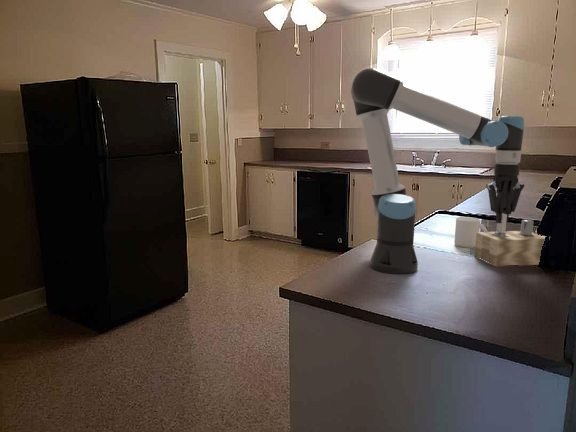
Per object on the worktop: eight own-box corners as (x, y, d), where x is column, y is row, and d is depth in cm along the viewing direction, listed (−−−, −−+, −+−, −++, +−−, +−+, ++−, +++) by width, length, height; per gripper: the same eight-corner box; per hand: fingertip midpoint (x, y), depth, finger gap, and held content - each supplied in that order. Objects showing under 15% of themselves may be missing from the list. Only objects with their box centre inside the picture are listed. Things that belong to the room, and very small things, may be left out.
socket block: (494, 266, 145) (497, 240, 143) (474, 256, 157) (476, 232, 155) (548, 264, 148) (551, 238, 146) (524, 254, 160) (527, 230, 158)
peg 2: (523, 247, 150) (526, 221, 149) (516, 244, 154) (519, 219, 152) (533, 246, 151) (536, 221, 149) (525, 244, 154) (528, 219, 153)
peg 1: (496, 259, 149) (498, 234, 148) (489, 256, 153) (492, 231, 151) (505, 259, 150) (508, 233, 148) (499, 256, 153) (501, 231, 152)
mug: (483, 250, 164) (485, 223, 162) (451, 245, 172) (453, 219, 170) (489, 246, 171) (492, 219, 169) (458, 241, 178) (460, 215, 176)
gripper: (496, 164, 141) (490, 235, 145) (532, 164, 143) (525, 234, 147) (482, 162, 148) (476, 230, 152) (517, 162, 150) (510, 229, 154)
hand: (500, 232), depth 150 cm, fingers closed
